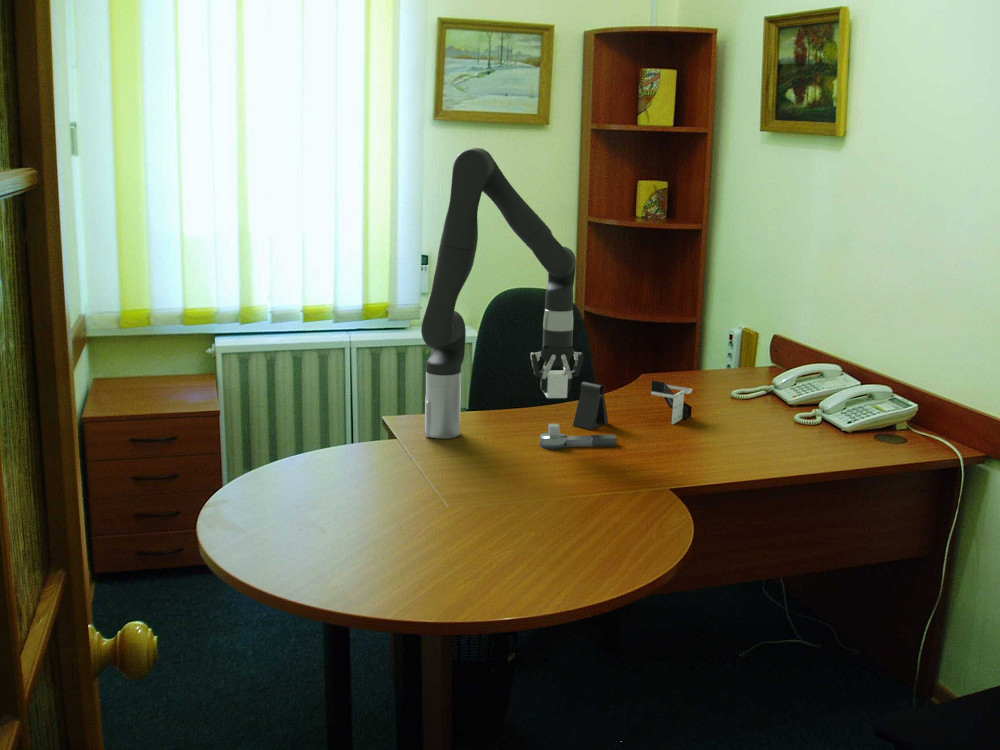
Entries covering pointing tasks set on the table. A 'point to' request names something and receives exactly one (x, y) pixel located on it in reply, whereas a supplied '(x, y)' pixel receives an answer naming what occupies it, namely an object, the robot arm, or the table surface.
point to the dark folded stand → (591, 407)
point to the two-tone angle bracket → (673, 399)
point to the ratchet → (573, 439)
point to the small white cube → (556, 384)
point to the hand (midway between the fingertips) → (555, 391)
